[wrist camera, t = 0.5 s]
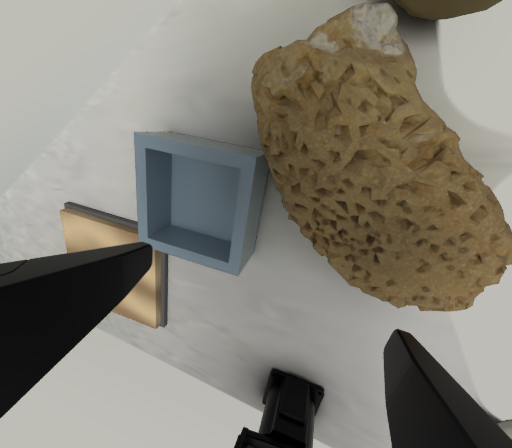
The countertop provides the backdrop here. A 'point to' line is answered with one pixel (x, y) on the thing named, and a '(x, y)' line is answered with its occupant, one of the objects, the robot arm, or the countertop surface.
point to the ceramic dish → (199, 198)
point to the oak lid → (112, 234)
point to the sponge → (376, 166)
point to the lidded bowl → (506, 427)
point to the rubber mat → (135, 225)
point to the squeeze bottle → (444, 7)
